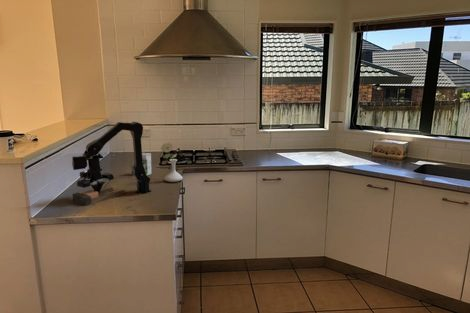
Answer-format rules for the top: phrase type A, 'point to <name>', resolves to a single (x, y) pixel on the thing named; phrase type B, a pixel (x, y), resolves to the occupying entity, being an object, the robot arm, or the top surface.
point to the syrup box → (147, 162)
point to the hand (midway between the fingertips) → (97, 195)
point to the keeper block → (91, 193)
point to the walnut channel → (87, 199)
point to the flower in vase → (173, 175)
